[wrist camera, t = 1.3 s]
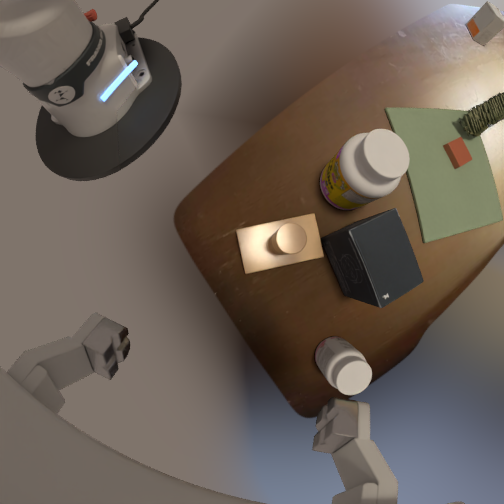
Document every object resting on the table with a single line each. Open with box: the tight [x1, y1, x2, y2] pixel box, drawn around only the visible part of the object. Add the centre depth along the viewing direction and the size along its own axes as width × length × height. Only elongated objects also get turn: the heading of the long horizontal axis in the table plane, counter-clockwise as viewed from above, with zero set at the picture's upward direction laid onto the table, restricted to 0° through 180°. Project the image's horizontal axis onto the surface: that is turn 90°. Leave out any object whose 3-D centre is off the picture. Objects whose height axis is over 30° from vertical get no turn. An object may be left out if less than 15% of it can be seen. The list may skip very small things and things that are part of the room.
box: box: [321, 208, 423, 308], centre depth 29 cm, size 8×6×11 cm
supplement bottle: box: [320, 129, 410, 210], centre depth 28 cm, size 7×7×13 cm
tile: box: [443, 137, 472, 169], centre depth 34 cm, size 4×4×2 cm
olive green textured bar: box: [459, 93, 504, 136], centre depth 34 cm, size 33×3×5 cm
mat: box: [385, 108, 503, 243], centre depth 35 cm, size 20×20×1 cm
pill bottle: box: [315, 337, 372, 395], centre depth 30 cm, size 5×5×8 cm
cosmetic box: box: [466, 1, 504, 46], centre depth 30 cm, size 6×4×12 cm
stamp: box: [236, 213, 324, 274], centre depth 29 cm, size 9×5×11 cm, turn 102°
